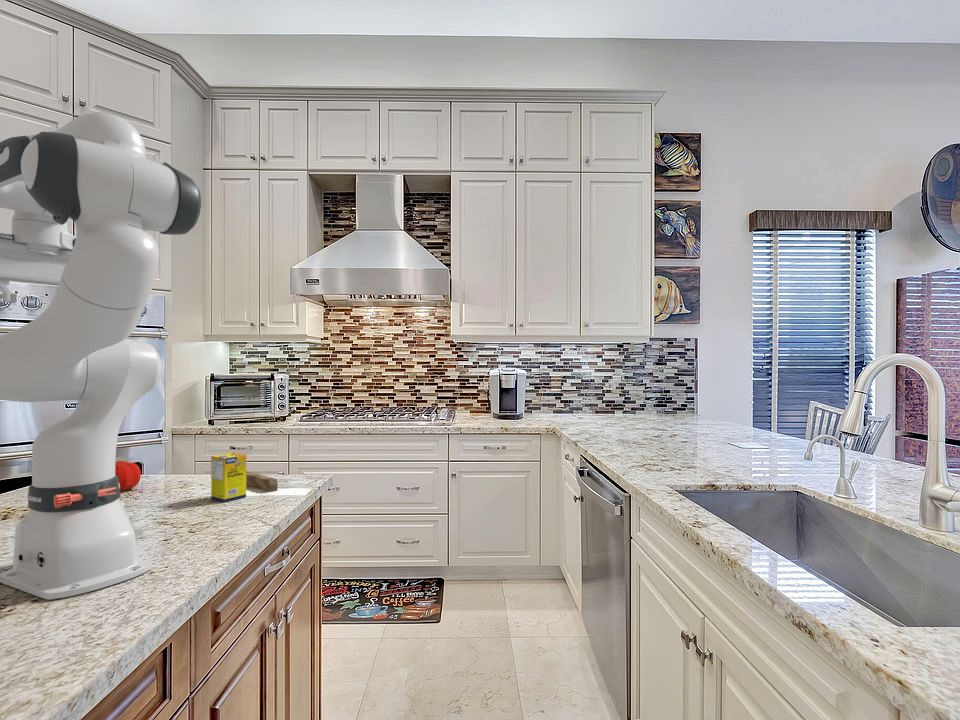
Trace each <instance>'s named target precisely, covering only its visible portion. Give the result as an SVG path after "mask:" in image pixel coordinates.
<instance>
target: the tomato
mask: <svg viewBox="0 0 960 720" xmlns="http://www.w3.org/2000/svg"><path fill="white" fill-rule="evenodd" d="M115 475H117V476H118V481H119V484H120V488H119V489H120V493H121V492H123V491H127V490H131V489H133V488H135V487H136V486H137V485H138V484H139V483H140V481H141V478H142V472H141V468H140V466H139V465H138V464H136V463H134V462H131V461H130V462H129V461H126V460H117V461H116V460H115Z"/></svg>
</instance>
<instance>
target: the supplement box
mask: <svg viewBox="0 0 960 720" xmlns="http://www.w3.org/2000/svg"><path fill="white" fill-rule="evenodd" d="M210 458H211V459H210V460H211V461H210V462H211V463H210V464H211V468H210V469H211V470H210V471H211V473H210V475H211V476H210V477H211V481H210V482H211V487H210V488H211V492H210V493H211V494H210V495H211V496H210V497H211V500H215V501H218V502H222V503H227V502H233V501H236V500H241V499H244V498H246V497H247V485H246V471H247V454H243V453H237V452H229V453H228V452H227V453H223V454H222V453H221V454H215V455H212V456H211V457H210Z"/></svg>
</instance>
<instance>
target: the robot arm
mask: <svg viewBox="0 0 960 720" xmlns="http://www.w3.org/2000/svg"><path fill="white" fill-rule="evenodd" d="M146 155H147V150H146V146H145V142H144V140H143V137H142V136H141V134H140V133H139V131H138V130H137V129H136V128H135V127H134V126H133V125H132V124H131V123H130V122H129V121H127V120H125V119H123V118H122V117H121V116H118V115H115V114H113V113H109V112H104V111H103V112H90V113H86V114H83V115H80V116H77V117H76V118H73V119H71V120H70V121H68V122H67V123H65V124H64V125H63V126H62V127H60V128H59V129H56V130H54V131H41V132H39V133H37V134H30V135H19V136H13V137H12V136H11V137H8V138H6V139H4V140H1V141H0V208H1V209H8V210H12V211H13V212H14V213H13V216H12V218H11V234H9V233H2V232H0V291H1V293H2V294H3V302H4V303H5V304H16V303H17V300H18V299H17V293H12V292H11V290H10V289H9V288H8V285H9V286H10V282H21V283H29V284H36V285H37V284H39V285H46V286H47V285H48V286H57V288H56V290H55V293H54V295H53V298H52V299H51V302H50V303H49V305H48V307H46V309H44V311H42V313H41V314H39V315H38V316H36V317H35V318H34V319H32V320H31V321H30V322H28V323H27V324H25V325H22V326H20V327H19V328H17V329H14V330H12V331H9V332H7V333H4V334H0V401H7V402H8V401H9V402H20V403H39V402H52V401H53V402H56V401H57V402H59V401H60V402H61V401H77V404H76V407H75V409H74V411H73V412H72V413H71V415H69V416H68V417H67V418H65V419H62V420H61V421H58V422H55V423H54V424H51V425H50V426H47V427H46V428H44V429H43V430H42V431H41V432H39V433H38V435H36V437H35V438H34V440H33V442H32V446H31V447H32V451H31V453H32V457H31V458H32V463H31V466H32V468H31V469H32V470H31V471H32V473H31V484H30V485H29V486H28V493H27V495H26V496H27V498H26V499H27V508H29V511H28V512H27V514H26V516H24V517H23V519H22V520H20V521H19V522H18V523H16V526H15V532H14V533H15V534H14V547H13V560H12V561H13V562H12V568H10V569H8V570H6V571H4V572H1V573H0V583H1V584H4V585H6V586H8V587H11V588H14V589H17V590H19V591H21V592H24V593H28V594H30V595H33V596H36V597H38V598H41V599H44V600H57V599H63V598H68V597H73V596H77V595H82V594H86V593H88V592H93V591H97V590H100V589H102V588H106V587H111V586H113V585H115V584H118V583H122V582H125V581H127V580H130V579H133V578H136V577H138V576H140V575H143V574H144V573H146V572H148V571H150V570H152V569H153V562H152V560H151V559H150V557H149V556H148V554H147V552H146V551H145V550H144V548H143V546H142V545H141V544H140V542H139V540H137V539H136V538H139V537H141V536H143V524H142V522H138V523H134V524H132V523H131V521H133V517H134V516H133V513H132V512H127V510H126V508H125V502H124V503H123V502H122V501H121V500H120V499H119V498H121V492H120V489H119V488H120V484H119V481H118V476H117V475H115V461H116V455H117V446H118V445H117V444H118V437H119V436H118V435H119V432H120V429H121V425H122V424H123V423H124V422H123V421H124V419H125V418H126V416H127V414H128V413H129V411H130V410H131V408H133V406H134V405H135V404H136V403H137V401H139V400H140V399H141V398H142V397H143V396H145V395H146V394H147V393H150V392H151V391H152V390H154V388H155V387H156V386H157V385H158V383H159V381H160V380H161V377H162V374H163V362H162V359H161V356H160V354H159V352H158V351H157V350H156V348H155V347H154V346H153V345H152V344H150V343H149V342H144V341H139V340H135V339H130V338H129V337H130V336H131V335H132V334H133V332H134V331H135V330H136V328H137V325H138V323H139V321H140V318H141V317H142V314H143V312H144V310H145V308H146V305H147V303H148V300H149V299H150V295H151V293H152V291H153V287H154V285H155V281H156V277H157V271H158V267H159V261H160V248H159V244H158V242H157V241H156V238H154V236H153V235H152V234H151V233H150V232H159V233H160V234H161V235H171V236H172V235H173V236H176V235H177V236H178V235H179V236H180V235H186V234H187V233H189V232H190V231H191V230H193V228H194V227H195V226H196V224H197V222H198V220H199V217H200V213H201V208H202V197H201V192H200V189H199V188H198V186H197V184H196V183H195V181H194V180H193V179H192V178H191V177H189V176H188V175H187V174H185V173H183V172H182V171H180V170H178V169H176V168H175V167H173V166H172V165H171V164H169V163H167V162H166V161H165V162H163V163H159V162H157V161H154V160H152V159H150V158H147V156H146ZM70 219H71V220H72V221H73V222H74V223H75V226H76V227H75V229H76V235H73V234H71V233H69V227H68V224H67V221H69V220H70Z"/></svg>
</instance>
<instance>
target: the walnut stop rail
mask: <svg viewBox="0 0 960 720" xmlns="http://www.w3.org/2000/svg"><path fill="white" fill-rule="evenodd" d="M246 486H248V487H251V488H256V489H259V490H263V491H265V492H270V493H271V492H275V491H278V478H274V477H270V476H266V475H262V474H258V473H254V472H251V471H247V470H246Z"/></svg>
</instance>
